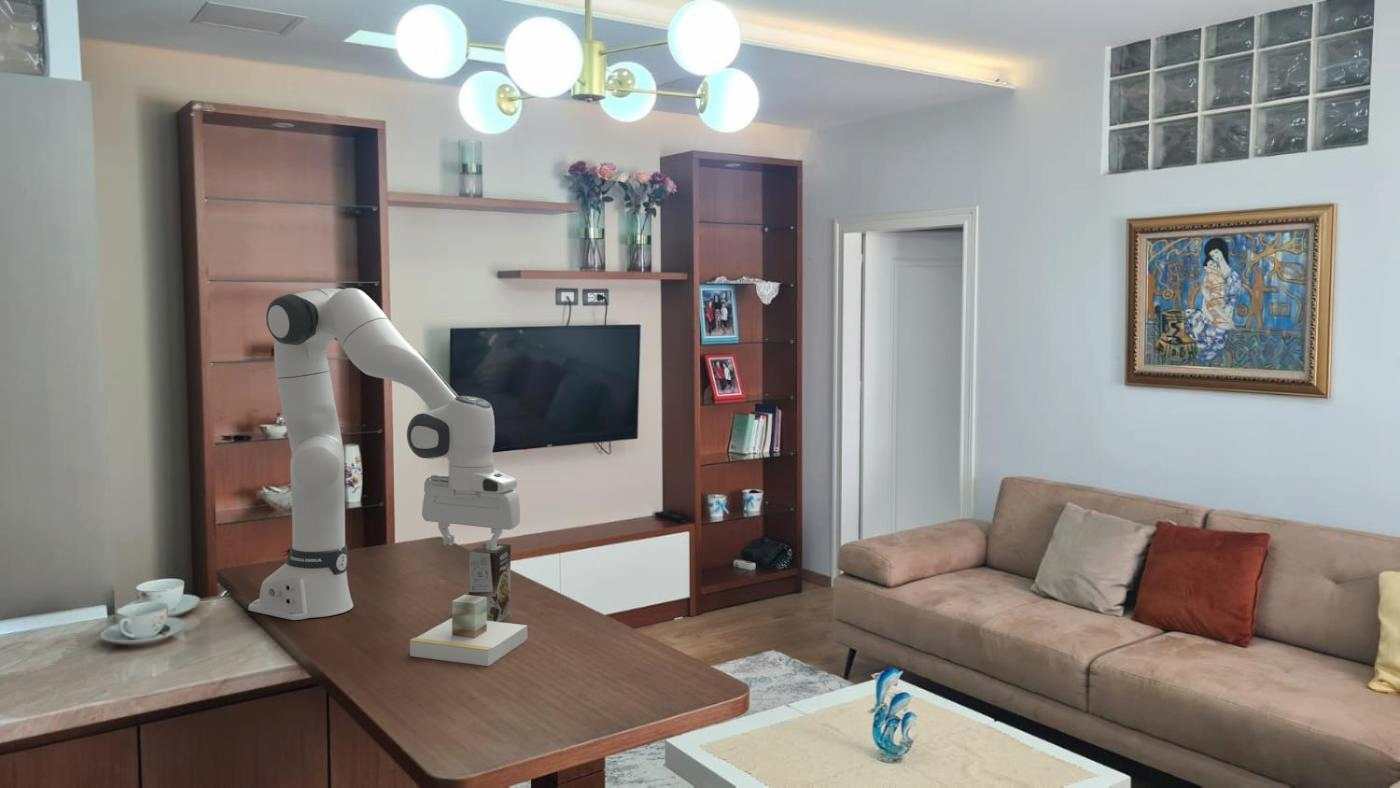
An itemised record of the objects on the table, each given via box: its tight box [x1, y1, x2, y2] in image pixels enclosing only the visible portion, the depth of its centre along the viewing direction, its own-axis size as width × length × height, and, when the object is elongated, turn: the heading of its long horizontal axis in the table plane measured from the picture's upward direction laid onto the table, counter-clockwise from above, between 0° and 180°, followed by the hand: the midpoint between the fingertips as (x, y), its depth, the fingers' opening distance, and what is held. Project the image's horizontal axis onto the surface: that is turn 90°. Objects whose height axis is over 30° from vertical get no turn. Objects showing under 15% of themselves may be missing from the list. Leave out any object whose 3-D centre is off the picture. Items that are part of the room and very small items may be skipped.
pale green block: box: [451, 594, 487, 638], centre depth 215 cm, size 5×5×7 cm
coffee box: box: [468, 542, 512, 622], centre depth 234 cm, size 9×6×16 cm
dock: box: [409, 617, 528, 667], centre depth 216 cm, size 17×17×3 cm
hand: (469, 547), depth 214 cm, fingers open, 8 cm apart
